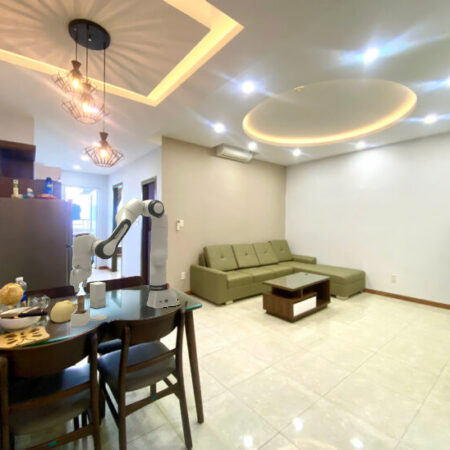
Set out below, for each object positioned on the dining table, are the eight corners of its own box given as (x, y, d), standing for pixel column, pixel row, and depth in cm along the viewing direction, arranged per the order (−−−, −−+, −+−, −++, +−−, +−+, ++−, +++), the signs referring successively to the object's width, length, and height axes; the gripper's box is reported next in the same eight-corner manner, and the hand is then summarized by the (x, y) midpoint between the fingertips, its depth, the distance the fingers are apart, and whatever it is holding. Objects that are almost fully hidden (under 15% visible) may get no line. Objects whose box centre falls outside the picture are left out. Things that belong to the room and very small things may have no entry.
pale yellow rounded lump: (79, 316, 141) (80, 297, 141) (67, 324, 129) (67, 304, 129) (59, 316, 141) (60, 297, 141) (45, 324, 129) (45, 304, 129)
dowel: (85, 322, 132) (85, 294, 132) (82, 324, 128) (83, 296, 128) (78, 322, 131) (78, 295, 131) (75, 325, 128) (76, 297, 128)
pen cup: (89, 321, 134) (90, 309, 134) (85, 327, 127) (85, 314, 127) (76, 322, 132) (76, 309, 132) (70, 328, 126) (70, 314, 126)
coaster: (109, 315, 144) (109, 314, 144) (105, 321, 135) (105, 320, 135) (93, 316, 142) (93, 315, 142) (87, 322, 133) (87, 321, 133)
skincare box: (105, 306, 158) (106, 282, 158) (95, 309, 153) (96, 284, 152) (99, 303, 163) (99, 280, 163) (89, 306, 157) (89, 282, 157)
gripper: (80, 267, 120) (79, 294, 120) (94, 260, 140) (93, 284, 140) (66, 267, 119) (65, 295, 119) (82, 260, 139) (81, 284, 139)
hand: (80, 289), depth 129 cm, fingers open, 8 cm apart
